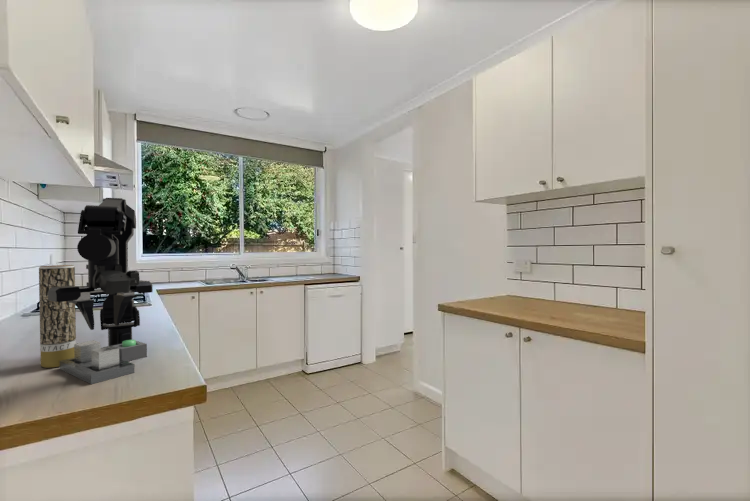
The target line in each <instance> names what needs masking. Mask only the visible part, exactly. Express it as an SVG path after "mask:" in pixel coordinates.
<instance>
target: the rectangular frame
mask: <svg viewBox="0 0 750 501" xmlns="http://www.w3.org/2000/svg"><path fill="white" fill-rule="evenodd" d="M59 370H60V371H63V372H65V373H67V374H69V375H71V376H74V377H75V378H77V379H79V380H81V381H84V382H86V383H88V384H89V385H94V384H97V383H101V382H104V381H108V380H111V379H116V378H120V377H123V376H124V377H125V376H127V375H131V374H134V373H135V363H132V362H131V361H124V360H121V359H119V366H117V367H113V368H109V369H105V370H101V371H97V372H96V371H93V370H92V361H90V362H85V363H81V364H77V363H75V362H74V358H71V359H66V360H61V361H59Z"/></svg>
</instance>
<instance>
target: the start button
mask: <svg viewBox="0 0 750 501" xmlns="http://www.w3.org/2000/svg"><path fill="white" fill-rule="evenodd" d="M136 341H137V340H136V339H132V340H126V341H123V342H122V347H129V346H134V345H136Z"/></svg>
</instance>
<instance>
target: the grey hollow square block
mask: <svg viewBox="0 0 750 501" xmlns="http://www.w3.org/2000/svg"><path fill="white" fill-rule="evenodd" d="M147 346H148V345H147V343H145V342H142V341H138V340H136V345H134V346H129V347H122V344H118V345H113V347H117V348H119V359H121V360H124V361H127V362H131V361H136V360H139V359H143V358H147V357H148V347H147Z"/></svg>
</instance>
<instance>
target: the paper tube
mask: <svg viewBox="0 0 750 501" xmlns="http://www.w3.org/2000/svg"><path fill="white" fill-rule="evenodd" d="M75 272H76V266H75V265H74V264H59V265H58V264H57V265H56V264H55V265H53V264H52V265H40V266H38V290H39V292H38V293H39V297H38V298H39V343H40V344H39V346H40V349H39V350H40V351H39V352H40V366H41V368H45V369H47V368H48V369H52V368H58V367H59V361H61V360H66V359H71V358H74V344H76V343H77V331H76V330H77V328H76V323H77V322H76V320H77V319H76V305H75V303H70V302H68V301H64V302H55V301H50V300H48V291H49V289H50V288H51V287H61V286H76V281H75V280H76V275H75V274H76V273H75Z"/></svg>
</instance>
